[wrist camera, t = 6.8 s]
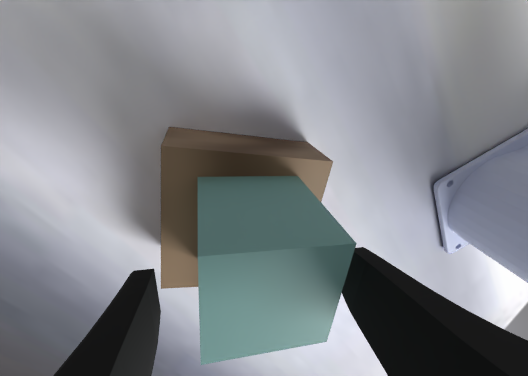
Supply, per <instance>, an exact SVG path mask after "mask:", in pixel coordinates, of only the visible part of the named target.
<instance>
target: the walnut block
mask: <svg viewBox="0 0 528 376" xmlns="http://www.w3.org/2000/svg"><path fill="white" fill-rule="evenodd" d="M332 163H333V161H332V160H330V159H329V158H328V157H326V156H325V155H324V154H322V153H321V152H320V151H318V150H317V149H316V148H314V147H313V146H312V145H311V144H309V143H308V142H300V141H291V140H282V139H273V138H264V137H255V136H246V135H237V134H229V133H220V132H211V131H202V130H193V129H184V128H175V127H169V128H168V131H167V133H166V135H165V138H164V140H163V142H162V145H161V289H162V288H181V287H199V284H198V177H236V176H298V177H299V178H300V179H301V180H302V181H303V182H304V184H305V185H306V186H307V187H308V188H309V189H310V191H311V192H312V193H313V194H314V195H315V196H316V197H317V199H318V200H319V201H320V202H321V201H322V197H323V194H324V190H325V187H326V184H327V180H328V177H329V174H330V170H331V167H332Z"/></svg>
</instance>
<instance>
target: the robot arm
mask: <svg viewBox="0 0 528 376" xmlns="http://www.w3.org/2000/svg"><path fill="white" fill-rule="evenodd" d="M434 194H435V200H436V206H437V211H438V217H439V223H440V229H441V234H442V240H443V246H444V250H445V251H446V252H447V253H448V254H452V253H454V252H456V251H458V250H459V249H461V248H463V247H465V246H466V245H468V244H471V245H473V246H474V247H476V248H477V249H479V250H480V251H482V252H483V253H484V254H486V255H487V256H489V257H490V258H492V259H493V260H495V261H496V262H498V263H499V264H501V265H502V266H504V267H505V268H507V269H508V270H510V271H511V272H513V273H514V274H516V275H517V276H519V277H520V278H521V279H523V280H524V281H526V282H527V283H528V129H526V130H524V131H523V132H521V133H519V134H518V135H516V136H514V137H512V138H511V139H509V140H507V141H505V142H504V143H502V144H500V145H498V146H497V147H495V148H493V149H492V150H490V151H488V152H486V153H485V154H483V155H481V156H479V157H478V158H476V159H474V160H472V161H471V162H469V163H467V164H466V165H464V166H462V167H460V168H459V169H457V170H455V171H453V172H452V173H450V174H448V175H447V176H445V177H443V178H441V179H440V180H438V181H437V182H436V183H435V184H434ZM342 294H343V297H344V299H345V301H346V303H347V306H348V308H349V310H350V312H351V314H352V316H353V317H354V319H355V321H356V322H357V324H358V326H359V328H360V329H361V331H362V333H363V334H364V336H365V338H366V339H367V341H368V343H369V344H370V346H371V348H372V349H373V351H374V353H375V354H376V356H377V358H378V359H379V361H380V363H381V364H382V366H383V368H384V370H385V371H386V373H387V375H388V376H528V341H527V340H525V339H523V338H521V337H519V336H516V335H514V334H512V333H510V332H508V331H506V330H504V329H502V328H500V327H498V326H496V325H494V324H492V323H490V322H488V321H486V320H484V319H482V318H480V317H479V316H477V315H475V314H473V313H471V312H469V311H467V310H465V309H464V308H462V307H460V306H458V305H456V304H455V303H453V302H451V301H450V300H448V299H446V298H444V297H443V296H441V295H439V294H438V293H436V292H434V291H433V290H431V289H429V288H428V287H426V286H424V285H423V284H421V283H420V282H418V281H416V280H415V279H413V278H412V277H410V276H408V275H407V274H405V273H404V272H402V271H401V270H399V269H398V268H396V267H394V266H393V265H391V264H390V263H388V262H387V261H385V260H384V259H382V258H380V257H379V256H377V255H376V254H374V253H372V252H371V251H369V250H367V249H366V248H364V247H361V248H355V250H354V253H353V256H352V259H351V263H350V266H349V269H348V273H347V276H346V279H345V282H344V286H343V289H342ZM160 314H161V310H160V304H159V298H158V291H157V285H156V279H155V272H154V269H147V270H137V271H133V272H132V273H131V274H130V276H129V277H128V279H127V280H126V282H125V283H124V285H123V286H122V288H121V289H120V290H119V292H118V293H117V295H116V296H115V298H114V299H113V300H112V302H111V303H110V305H109V306H108V307H107V309H106V310H105V311H104V313H103V314H102V315H101V317H100V318H99V319H98V321H97V322H96V323H95V325H94V326H93V327H92V329H91V330H90V331H89V333H88V334H87V335H86V337H85V338H84V339H83V340H82V342H81V343H80V344H79V345H78V346H77V348H76V349H75V350H74V351H73V353H72V354H71V355H70V356H69V357H68V359H67V360H66V361H65V362H64V364H63V365H62V366H61V367H60V368H59V370H58V371H57V372H56V373H55V374H54V376H151V374H152V370H153V365H154V360H155V355H156V349H157V344H158V335H159V325H160Z"/></svg>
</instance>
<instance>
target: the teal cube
mask: <svg viewBox="0 0 528 376" xmlns="http://www.w3.org/2000/svg"><path fill="white" fill-rule="evenodd" d="M355 246H356V242H355V241H354V240H353V239H352V238H351V237H350V236H349V234H348V233H347V232H346V231H345V230H344V229H343V227H342V226H341V225H340V224H339V223H338V222H337V221H336V219H335V218H334V217H333V216H332V215H331V214H330V212H329V211H328V210H327V209H326V208H325V207H324V206H323V204H322V203H321V202H320V201H319V200H318V199H317V197H316V196H315V195H314V194H313V193H312V192H311V191H310V189H309V188H308V187H307V186H306V185H305V184H304V182H303V181H302V180H301V179H300V178H299V177H298V176H236V177H198V284H199V318H200V351H201V365H203V364H208V363H214V362H219V361H225V360H230V359H235V358H241V357H246V356H252V355H257V354H262V353H268V352H273V351H279V350H284V349H290V348H295V347H300V346H306V345H311V344H317V343H322V342H327V339H328V335H329V332H330V329H331V325H332V322H333V319H334V315H335V312H336V309H337V306H338V302H339V299H340V296H341V292H342V289H343V286H344V282H345V279H346V276H347V273H348V269H349V266H350V263H351V259H352V256H353V253H354V250H355Z"/></svg>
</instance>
